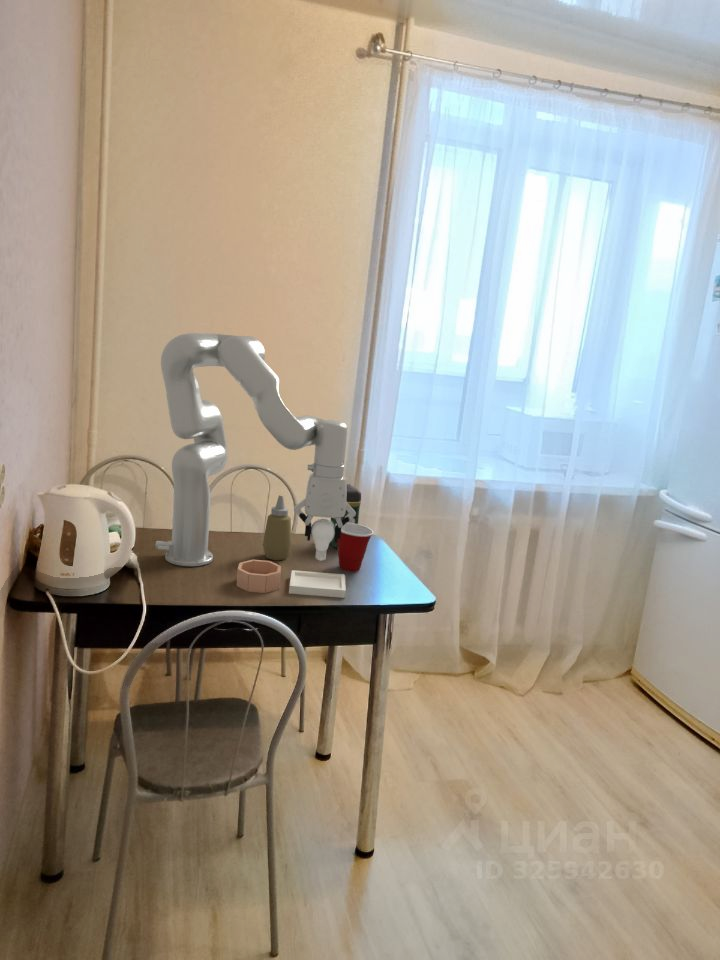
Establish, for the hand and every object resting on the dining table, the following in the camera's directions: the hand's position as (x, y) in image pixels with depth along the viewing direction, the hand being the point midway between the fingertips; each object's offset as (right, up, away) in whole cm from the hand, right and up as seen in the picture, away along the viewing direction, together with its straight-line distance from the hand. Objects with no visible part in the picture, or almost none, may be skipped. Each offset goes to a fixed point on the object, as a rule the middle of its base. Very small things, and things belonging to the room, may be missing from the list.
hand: (322, 539), depth 183 cm
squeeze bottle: (-14, -7, +22) cm, 27 cm away
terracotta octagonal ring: (-16, -11, +1) cm, 20 cm away
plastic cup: (+7, -10, +19) cm, 23 cm away
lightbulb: (-1, -6, +1) cm, 6 cm away
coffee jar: (+4, -5, +38) cm, 39 cm away
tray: (-1, -12, +3) cm, 13 cm away
